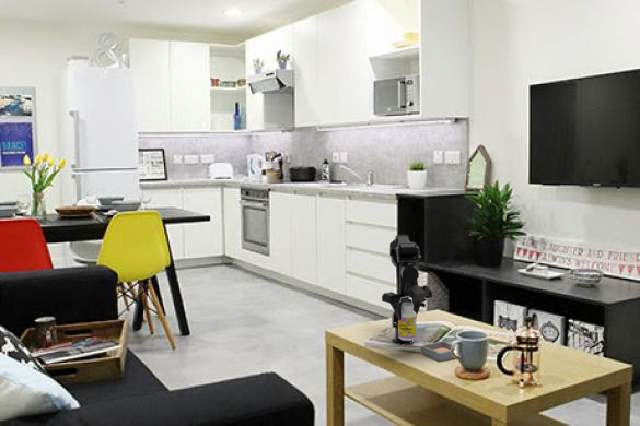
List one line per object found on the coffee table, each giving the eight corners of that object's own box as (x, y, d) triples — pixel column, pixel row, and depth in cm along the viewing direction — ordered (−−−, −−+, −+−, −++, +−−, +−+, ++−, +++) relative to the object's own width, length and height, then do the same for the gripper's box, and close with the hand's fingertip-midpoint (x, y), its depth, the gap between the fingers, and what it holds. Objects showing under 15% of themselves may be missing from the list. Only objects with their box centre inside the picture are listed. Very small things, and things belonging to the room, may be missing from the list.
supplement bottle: (395, 339, 248) (395, 305, 246) (401, 334, 253) (401, 301, 252) (412, 342, 244) (412, 307, 243) (419, 337, 250) (419, 303, 249)
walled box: (420, 353, 248) (420, 345, 248) (443, 348, 254) (443, 340, 253) (439, 362, 239) (439, 354, 239) (463, 356, 244) (463, 348, 244)
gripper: (399, 284, 235) (399, 327, 237) (441, 277, 244) (441, 320, 245) (381, 278, 244) (381, 320, 246) (422, 272, 253) (422, 313, 255)
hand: (407, 318), depth 248 cm, fingers closed on supplement bottle, 7 cm apart
